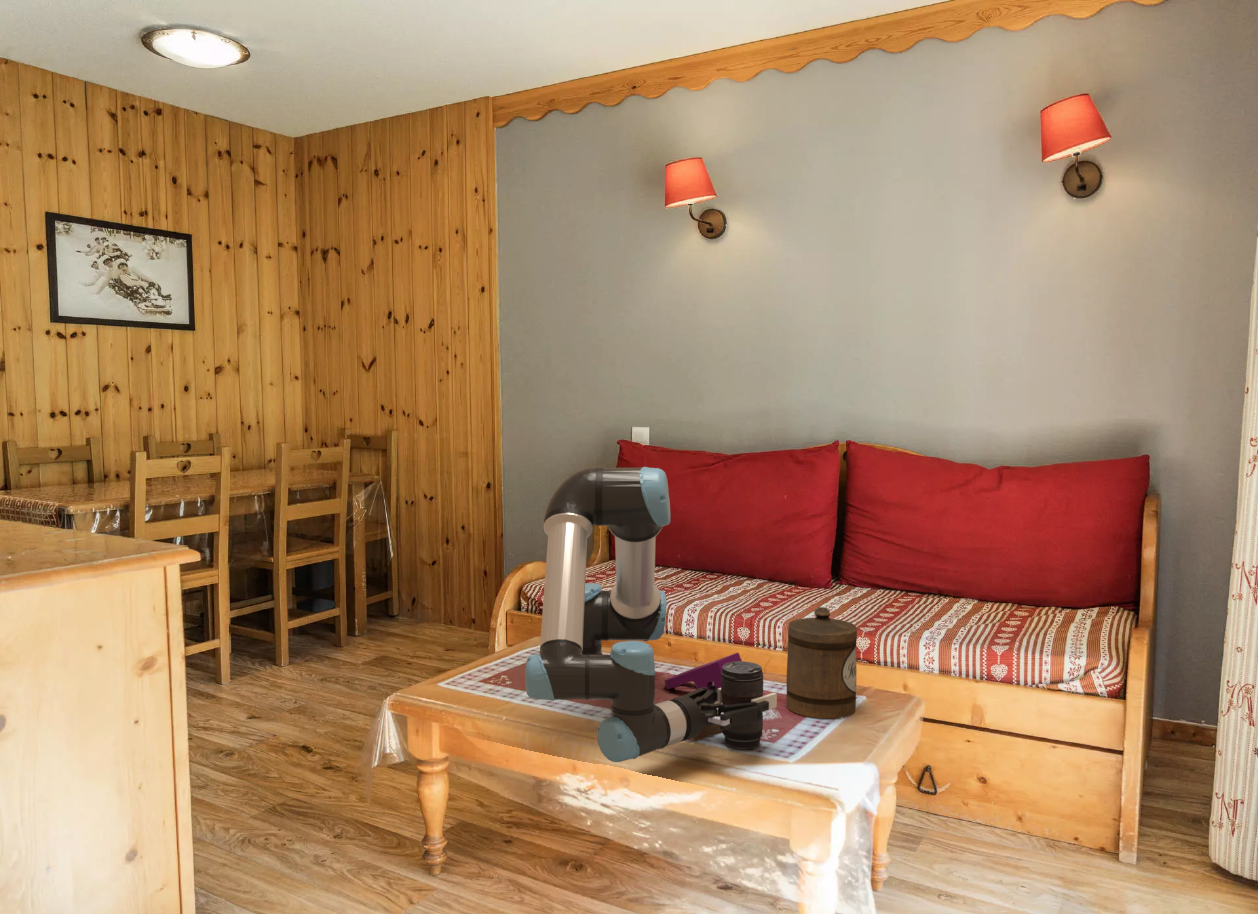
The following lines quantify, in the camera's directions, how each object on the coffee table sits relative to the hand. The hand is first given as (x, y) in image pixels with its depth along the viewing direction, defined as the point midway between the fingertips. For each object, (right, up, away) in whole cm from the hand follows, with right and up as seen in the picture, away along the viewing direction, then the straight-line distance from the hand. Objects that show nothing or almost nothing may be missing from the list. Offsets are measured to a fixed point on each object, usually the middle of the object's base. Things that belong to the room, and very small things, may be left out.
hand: (757, 694), depth 173 cm
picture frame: (-12, -8, +7) cm, 16 cm away
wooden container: (+16, -8, +19) cm, 26 cm away
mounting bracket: (-9, -8, +29) cm, 31 cm away
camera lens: (-3, -9, -3) cm, 10 cm away
